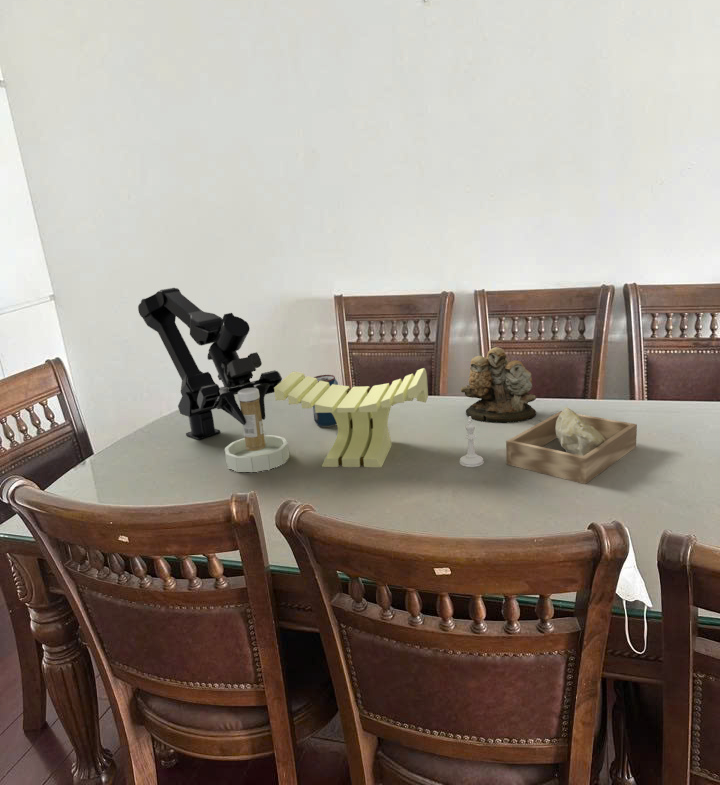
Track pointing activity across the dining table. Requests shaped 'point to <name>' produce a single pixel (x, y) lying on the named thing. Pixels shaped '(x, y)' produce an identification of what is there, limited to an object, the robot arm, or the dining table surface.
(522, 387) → the owl figurine
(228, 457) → the bowl
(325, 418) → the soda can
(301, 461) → the dining table surface
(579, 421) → the pale beige rock
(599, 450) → the light brown wooden tray
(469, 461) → the chess piece
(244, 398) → the sprinkles bottle
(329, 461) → the slatted curved stool
